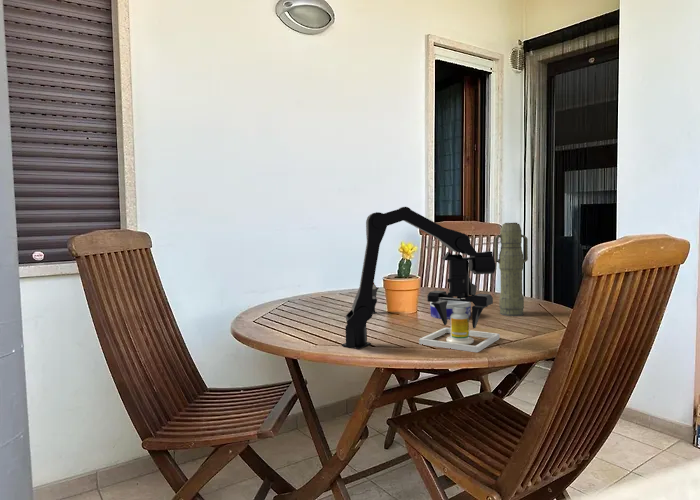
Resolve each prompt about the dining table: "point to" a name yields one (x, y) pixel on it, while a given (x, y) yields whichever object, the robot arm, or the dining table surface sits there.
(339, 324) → the dining table surface
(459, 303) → the dog bowl
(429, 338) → the corral
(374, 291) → the sundae
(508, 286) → the thermos
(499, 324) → the dining table surface
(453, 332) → the supplement bottle
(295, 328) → the dining table surface
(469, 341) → the plinth
